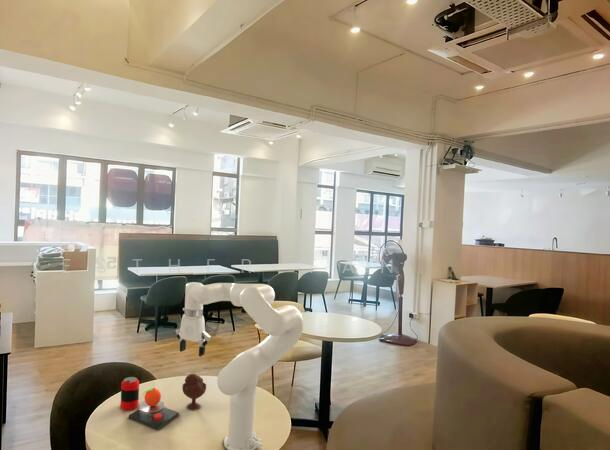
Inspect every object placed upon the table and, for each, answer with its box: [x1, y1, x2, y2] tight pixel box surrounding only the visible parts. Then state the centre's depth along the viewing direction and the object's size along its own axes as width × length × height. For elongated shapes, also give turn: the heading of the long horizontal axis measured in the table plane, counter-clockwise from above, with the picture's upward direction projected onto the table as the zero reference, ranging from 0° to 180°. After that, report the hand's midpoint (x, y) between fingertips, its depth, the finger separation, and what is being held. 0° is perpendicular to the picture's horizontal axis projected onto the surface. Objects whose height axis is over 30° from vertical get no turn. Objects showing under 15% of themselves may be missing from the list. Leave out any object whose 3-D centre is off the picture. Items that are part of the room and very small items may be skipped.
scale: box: [128, 406, 180, 431], centre depth 155 cm, size 16×14×3 cm
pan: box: [137, 399, 165, 414], centre depth 157 cm, size 11×11×1 cm
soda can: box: [120, 376, 140, 411], centre depth 163 cm, size 8×8×12 cm
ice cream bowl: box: [181, 373, 207, 411], centre depth 165 cm, size 11×11×15 cm
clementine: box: [142, 387, 162, 406], centre depth 158 cm, size 8×7×7 cm
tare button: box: [154, 413, 162, 421], centre depth 149 cm, size 3×3×2 cm
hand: (192, 353), depth 154 cm, fingers open, 9 cm apart
